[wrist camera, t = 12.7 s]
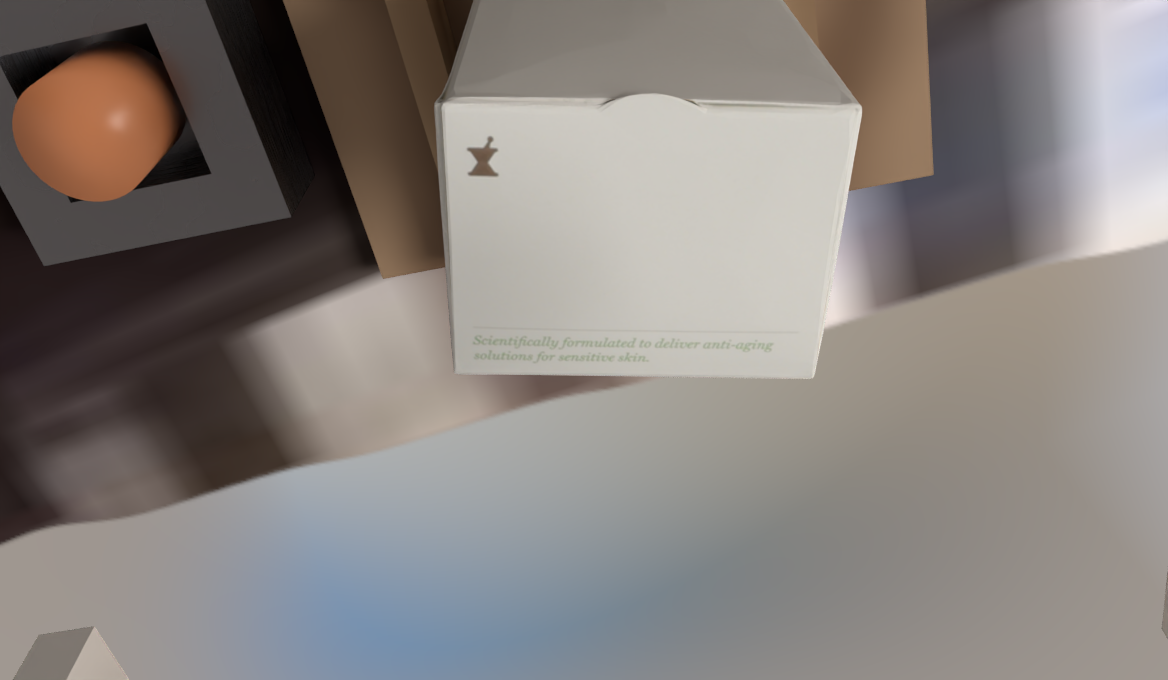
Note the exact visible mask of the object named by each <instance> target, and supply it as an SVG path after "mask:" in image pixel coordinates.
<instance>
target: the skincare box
mask: <svg viewBox="0 0 1168 680" xmlns="http://www.w3.org/2000/svg"><path fill="white" fill-rule="evenodd" d="M434 114H435V126H436V143H437V162H438V176H439V190H440V204H441V217H442V229H443V242H444V255H445V268H446V281H447V295H448V308H449V321H450V334H451V346H452V356H453V366H454V373H455V374H470V375H485V374H512V375H587V376H650V377H703V378H704V377H705V378H779V379H782V378H783V379H812V378H813V377H814V375H815V370H816V365H817V360H818V355H819V350H820V345H821V340H822V336H823V331H824V325H825V320H826V315H827V309H828V304H829V298H830V293H831V287H832V282H833V276H834V271H835V265H836V260H837V254H838V249H839V243H840V237H841V232H842V226H843V220H844V214H845V209H846V203H847V197H848V191H849V185H850V180H851V174H852V168H853V162H854V157H855V151H856V145H857V140H858V134H859V128H860V123H861V117H862V107H861V105H860V104H859V103H858V101H857V100H856V99H855V97H854V96H853V95H852V93H851V92H850V91H849V89H848V88H847V87H846V85H845V84H844V82H843V81H842V80H841V78H840V77H839V76H838V74H837V73H836V72H835V70H834V69H833V68H832V66H831V65H830V64H829V62H828V61H827V59H826V58H825V57H824V55H823V54H822V53H821V51H820V50H819V49H818V47H817V46H816V45H815V43H814V42H813V41H812V39H811V38H810V37H809V35H808V34H807V32H806V31H805V30H804V28H803V27H802V26H801V24H800V23H799V21H798V20H797V18H796V17H795V16H794V15H793V13H792V12H791V11H790V9H789V8H788V6H787V5H786V3H785V2H784V1H783V0H473V4H472V7H471V10H470V13H469V16H468V20H467V23H466V26H465V29H464V32H463V35H462V38H461V41H460V44H459V47H458V51H457V54H456V57H455V60H454V63H453V67H452V70H451V73H450V76H449V78H448V81H447V83H446V85H445V88H444V90H443V92H442V94H441V95H440V97H439V98H438V99H437V100H436V102H435V103H434Z"/></svg>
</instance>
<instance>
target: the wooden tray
mask: <svg viewBox="0 0 1168 680" xmlns="http://www.w3.org/2000/svg"><path fill="white" fill-rule="evenodd" d="M783 1H784V2H785V3H786V5H787V6H788V8H789V9H790V11H791V12H792V13H793V15H794V16H795V17H796V18H797V20H798V21H799V23H800V24H801V26H802V27H803V28H804V30H805V31H806V32H807V34H808V35H809V37H810V38H811V39H812V41H813V42H814V43H815V45H816V46H817V47H818V49H819V50H820V51H821V53H822V54H823V55H824V57H825V58H826V59H827V61H828V62H829V64H830V65H831V66H832V68H833V69H834V70H835V72H836V73H837V74H838V76H839V77H840V78H841V80H842V81H843V82H844V84H845V85H846V87H847V88H848V89H849V91H850V92H851V93H852V95H853V96H854V97H855V99H856V100H857V101H858V103H859V104H860V105H861V107H862V117H861V123H860V128H859V134H858V140H857V145H856V151H855V157H854V162H853V168H852V174H851V180H850V185H849V191H851V190H856V189H862V188H867V187H872V186H877V185H883V184H888V183H893V182H899V181H904V180H909V179H915V178H920V177H925V176H930V175H933V154H932V132H931V110H930V88H929V66H928V44H927V22H926V0H783ZM283 2H284V5H285V7H286V10H287V13H288V16H289V18H290V21H291V24H292V27H293V30H294V32H295V35H296V38H297V41H298V44H299V46H300V49H301V52H302V55H303V57H304V60H305V63H306V66H307V69H308V71H309V74H310V77H311V80H312V83H313V85H314V88H315V91H316V94H317V96H318V99H319V102H320V105H321V108H322V110H323V113H324V116H325V119H326V122H327V124H328V127H329V130H330V133H331V135H332V138H333V141H334V144H335V147H336V149H337V152H338V155H339V158H340V160H341V163H342V166H343V169H344V172H345V174H346V177H347V180H348V183H349V186H350V188H351V191H352V194H353V197H354V199H355V202H356V205H357V208H358V211H359V213H360V216H361V219H362V222H363V225H364V227H365V230H366V233H367V236H368V238H369V241H370V244H371V247H372V250H373V252H374V255H375V258H376V261H377V264H378V266H379V269H380V272H381V275H382V277H383V279H385V278H390V277H395V276H400V275H406V274H411V273H416V272H422V271H427V270H432V269H438V268H443V267H445V255H444V242H443V229H442V217H441V204H440V190H439V176H438V162H437V143H436V126H435V114H434V103H435V102H436V100H437V99H438V98H439V97H440V95H441V94H442V92H443V90H444V88H445V85H446V83H447V81H448V78H449V76H450V73H451V70H452V67H453V63H454V60H455V57H456V54H457V51H458V47H459V44H460V41H461V38H462V35H463V32H464V29H465V26H466V23H467V20H468V16H469V13H470V10H471V7H472V4H473V0H283Z"/></svg>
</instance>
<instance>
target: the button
mask: <svg viewBox="0 0 1168 680" xmlns="http://www.w3.org/2000/svg"><path fill="white" fill-rule="evenodd" d="M185 123H186V113H185V111H184V109H183V106H182V104H181V102H180V99H179V97H178V95H177V92H176V90H175V88H174V85H173V83H172V81H171V78H170V76H169V74H168V71H167V69H166V67H165V64H164V63H163V62H162V61H160V60H159V59H158V58H157V57H155V56H154V55H153V54H151V53H150V52H148V51H146V50H144V49H142V48H140V47H138V46H135V45H133V44H130V43H126V42H121V41H100V42H96V43H92V44H89V45H87V46H85V47H83V48H82V49H81V50H79V51H78V52H76V53H75V54H74V55H72V56H71V57H69V58H68V59H67V60H65V61H64V62H63V63H61V64H60V65H58V66H57V67H56V68H54V69H53V70H51V71H50V72H49V73H47V74H46V75H45V76H43V77H42V78H40V79H39V80H38V81H36V82H35V83H34V84H32V85H31V86H29V87H28V88H27V89H26V90H25V91H24V92H23V93H22V95H21V96H20V97H19V99H18V101H17V103H16V105H15V108H14V112H13V118H12V129H13V135H14V139H15V142H16V145H17V148H18V150H19V152H20V154H21V156H22V157H23V159H24V161H25V162H26V164H27V165H28V166H29V167H30V169H31V170H32V171H33V172H34V173H35V174H36V175H37V176H38V177H39V178H40V179H41V180H42V181H44V182H45V183H46V184H48V185H49V186H50V187H52V188H54V189H55V190H57V191H59V192H61V193H63V194H65V195H67V196H70V197H73V198H76V199H80V200H85V201H93V202H102V201H110V200H114V199H117V198H120V197H122V196H124V195H126V194H128V193H129V192H131V191H132V190H133V189H134V188H135V187H136V186H137V185H138V184H139V183H140V182H141V181H142V180H143V179H144V178H145V176H146V175H147V174H148V173H149V172H150V171H151V170H152V169H153V168H154V166H155V165H156V164H157V163H158V162H159V161H160V160H161V159H162V158H163V156H164V155H165V154H166V153H167V152H168V151H169V150H170V149H171V148H172V146H173V145H174V144H175V143H176V142H177V141H178V139H179V138H180V136H181V134H182V132H183V130H184V127H185Z"/></svg>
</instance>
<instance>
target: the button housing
mask: <svg viewBox="0 0 1168 680" xmlns="http://www.w3.org/2000/svg"><path fill="white" fill-rule="evenodd" d="M100 41H121V42H126V43H130V44H133V45H135V46H138V47H140V48H142V49H144V50H146V51H148V52H150V53H151V54H153V55H154V56H155V57H157V58H158V59H159V60H160V61H162V62H163V63H164V64H165V67H166V69H167V71H168V74H169V76H170V78H171V81H172V83H173V85H174V88H175V90H176V92H177V95H178V97H179V99H180V102H181V104H182V106H183V109H184V111H185V113H186V123H185V127H184V130H183V132H182V134H181V136H180V138H179V139H178V141H177V142H176V143H175V144H174V145H173V146H172V148H171V149H170V150H169V151H168V152H167V153H166V154H165V155H164V156H163V158H162V159H161V160H160V161H159V162H158V163H157V164H156V165H155V166H154V168H153V169H152V170H151V171H150V172H149V173H148V174H147V175H146V176H145V178H144V179H143V180H142V181H141V182H140V183H139V184H138V185H137V186H136V187H135V188H134V189H133V190H132V191H131V192H129V193H128V194H126V195H124V196H122V197H120V198H117V199H114V200H110V201H102V202H93V201H85V200H80V199H76V198H73V197H70V196H67V195H65V194H63V193H61V192H59V191H57V190H55V189H54V188H52V187H50V186H49V185H48V184H46V183H45V182H44V181H42V180H41V179H40V178H39V177H38V176H37V175H36V174H35V173H34V172H33V171H32V170H31V169H30V167H29V166H28V165H27V164H26V162H25V161H24V159H23V157H22V156H21V154H20V152H19V150H18V148H17V145H16V142H15V139H14V135H13V129H12V118H13V112H14V108H15V105H16V103H17V101H18V99H19V97H20V96H21V95H22V93H23V92H24V91H25V90H26V89H27V88H28V87H29V86H31V85H32V84H34V83H35V82H36V81H38V80H39V79H40V78H42V77H43V76H45V75H46V74H47V73H49V72H50V71H51V70H53V69H54V68H56V67H57V66H58V65H60V64H61V63H63V62H64V61H65V60H67V59H68V58H69V57H71V56H72V55H74V54H75V53H76V52H78V51H79V50H81V49H82V48H83V47H85V46H87V45H89V44H92V43H96V42H100ZM314 176H315V174H314V171H313V169H312V166H311V163H310V161H309V158H308V155H307V153H306V150H305V147H304V145H303V142H302V139H301V137H300V134H299V131H298V129H297V126H296V123H295V121H294V118H293V116H292V113H291V110H290V108H289V105H288V102H287V100H286V97H285V94H284V92H283V89H282V86H281V84H280V81H279V78H278V76H277V73H276V70H275V68H274V65H273V62H272V60H271V57H270V54H269V52H268V49H267V46H266V44H265V41H264V38H263V36H262V33H261V30H260V28H259V25H258V22H257V20H256V17H255V14H254V12H253V9H252V6H251V4H250V1H249V0H0V186H1V188H2V190H3V192H4V194H5V195H6V197H7V199H8V201H9V203H10V205H11V206H12V208H13V210H14V212H15V214H16V216H17V217H18V219H19V221H20V223H21V225H22V227H23V228H24V230H25V232H26V234H27V236H28V237H29V239H30V241H31V243H32V245H33V247H34V248H35V250H36V252H37V254H38V256H39V258H40V259H41V261H42V263H43V265H44V266H47V265H52V264H57V263H62V262H67V261H72V260H77V259H82V258H87V257H92V256H97V255H102V254H107V253H112V252H117V251H122V250H128V249H133V248H138V247H143V246H148V245H153V244H158V243H163V242H168V241H173V240H178V239H183V238H188V237H193V236H198V235H203V234H208V233H213V232H218V231H223V230H228V229H233V228H239V227H244V226H249V225H254V224H259V223H264V222H269V221H274V220H279V219H284V218H289V217H292V215H293V213H294V211H295V210H296V208H297V206H298V204H299V202H300V201H301V199H302V197H303V195H304V194H305V192H306V190H307V188H308V186H309V185H310V183H311V181H312V179H313V178H314Z"/></svg>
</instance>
